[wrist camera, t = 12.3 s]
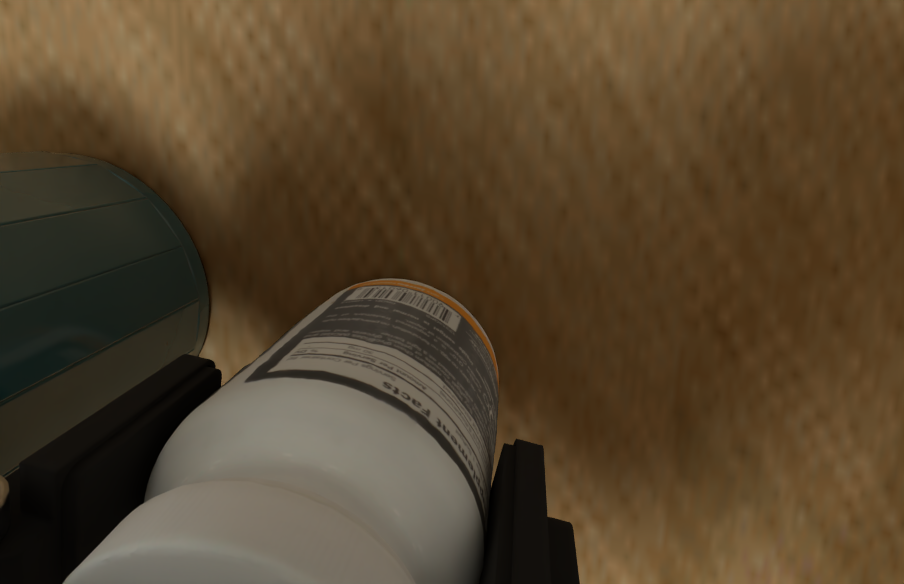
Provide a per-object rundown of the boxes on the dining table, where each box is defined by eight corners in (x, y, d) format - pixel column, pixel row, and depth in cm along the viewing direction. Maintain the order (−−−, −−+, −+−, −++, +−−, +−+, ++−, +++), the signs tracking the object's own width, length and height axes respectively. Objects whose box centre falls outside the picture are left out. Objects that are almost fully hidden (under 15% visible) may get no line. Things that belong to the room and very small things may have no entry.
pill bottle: (386, 487, 17) (213, 932, 8) (265, 342, 16) (-101, 641, 7) (542, 394, 16) (566, 806, 6) (417, 228, 15) (218, 409, 5)
